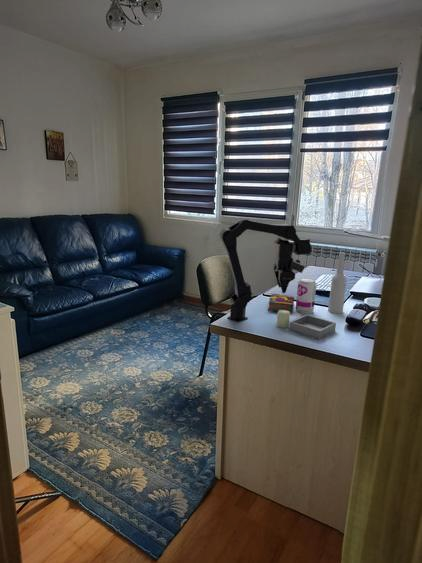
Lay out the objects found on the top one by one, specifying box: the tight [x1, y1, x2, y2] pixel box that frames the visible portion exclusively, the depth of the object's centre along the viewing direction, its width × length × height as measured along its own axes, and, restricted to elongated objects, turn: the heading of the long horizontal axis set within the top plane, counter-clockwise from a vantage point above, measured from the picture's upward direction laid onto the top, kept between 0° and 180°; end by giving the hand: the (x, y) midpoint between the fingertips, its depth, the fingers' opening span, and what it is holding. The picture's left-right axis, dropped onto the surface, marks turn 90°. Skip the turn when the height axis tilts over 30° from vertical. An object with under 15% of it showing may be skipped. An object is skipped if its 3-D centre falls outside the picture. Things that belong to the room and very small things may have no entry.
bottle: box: [327, 251, 347, 315], centre depth 166 cm, size 7×7×28 cm
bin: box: [288, 314, 337, 340], centre depth 144 cm, size 13×13×4 cm
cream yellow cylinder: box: [276, 310, 291, 329], centre depth 148 cm, size 5×5×6 cm
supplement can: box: [295, 277, 317, 314], centre depth 167 cm, size 8×8×15 cm
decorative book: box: [267, 293, 295, 314], centre depth 172 cm, size 11×16×5 cm
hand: (281, 290), depth 155 cm, fingers open, 9 cm apart
